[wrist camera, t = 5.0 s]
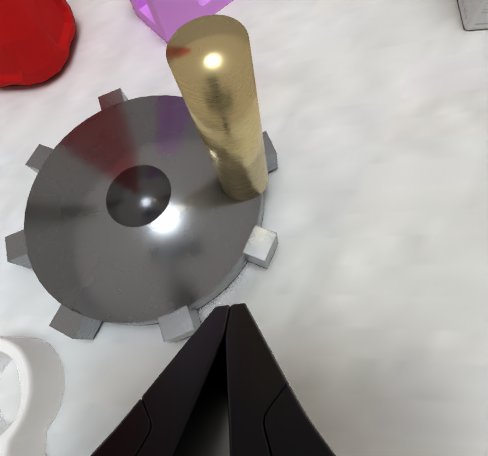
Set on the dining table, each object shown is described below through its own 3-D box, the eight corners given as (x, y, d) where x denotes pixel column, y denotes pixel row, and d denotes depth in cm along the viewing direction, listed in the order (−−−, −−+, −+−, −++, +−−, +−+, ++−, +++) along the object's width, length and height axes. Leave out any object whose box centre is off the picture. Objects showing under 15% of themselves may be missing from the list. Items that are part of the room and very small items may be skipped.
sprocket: (209, 403, 19) (89, 483, 8) (-22, 277, 24) (-304, 214, 12) (323, 137, 24) (350, -51, 13) (111, 76, 28) (-6, -100, 17)
